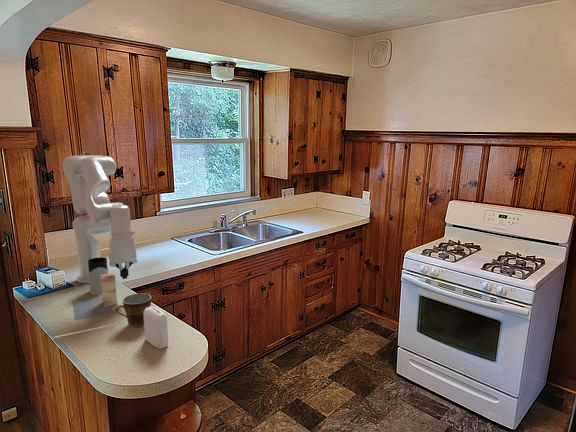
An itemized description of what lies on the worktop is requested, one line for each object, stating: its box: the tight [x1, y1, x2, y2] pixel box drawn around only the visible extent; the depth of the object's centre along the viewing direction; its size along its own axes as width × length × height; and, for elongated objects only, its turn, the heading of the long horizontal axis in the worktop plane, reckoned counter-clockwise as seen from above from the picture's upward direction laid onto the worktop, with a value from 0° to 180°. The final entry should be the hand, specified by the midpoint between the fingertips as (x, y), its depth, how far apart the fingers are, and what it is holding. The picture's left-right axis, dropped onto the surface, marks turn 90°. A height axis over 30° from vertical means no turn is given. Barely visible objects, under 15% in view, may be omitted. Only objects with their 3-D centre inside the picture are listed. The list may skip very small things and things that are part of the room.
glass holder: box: [88, 256, 109, 295], centre depth 174 cm, size 9×14×15 cm, turn 33°
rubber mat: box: [72, 295, 121, 321], centre depth 157 cm, size 20×16×1 cm
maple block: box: [100, 272, 118, 307], centre depth 158 cm, size 5×5×12 cm
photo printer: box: [143, 306, 169, 350], centre depth 129 cm, size 10×4×12 cm, turn 47°
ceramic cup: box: [115, 292, 152, 329], centre depth 141 cm, size 13×10×10 cm
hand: (124, 277), depth 161 cm, fingers closed
